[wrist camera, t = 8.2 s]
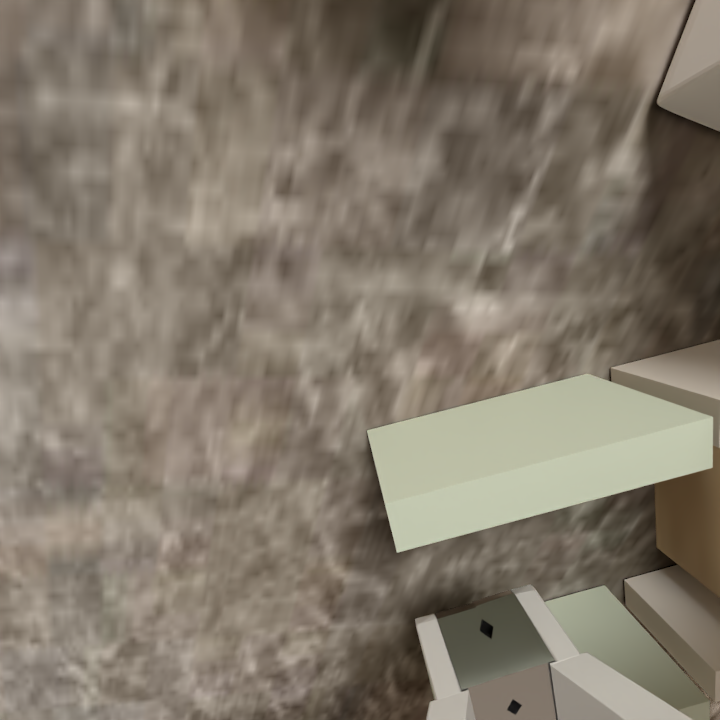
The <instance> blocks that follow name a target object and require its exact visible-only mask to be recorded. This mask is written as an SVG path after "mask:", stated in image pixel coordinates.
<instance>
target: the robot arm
mask: <svg viewBox="0 0 720 720" xmlns="http://www.w3.org/2000/svg"><path fill="white" fill-rule="evenodd" d="M415 623H416V628H417V632H418V636H419V639H420V643H421V647H422V651H423V655H424V658H425V662H426V666H427V670H428V673H429V677H430V681H431V685H432V688H433V692H434V696H435V700H433V701H430V702H429V707H428V712H427V717H426V720H693V719H691V718H690V717H688V716H686V715H685V714H683V713H682V712H680V711H679V710H677V709H675V708H674V707H672V706H671V705H669V704H668V703H666V702H665V701H663V700H661V699H660V698H658V697H657V696H655V695H654V694H652V693H650V692H649V691H647V690H646V689H644V688H643V687H641V686H640V685H638V684H636V683H635V682H633V681H632V680H630V679H629V678H627V677H625V676H624V675H622V674H621V673H619V672H618V671H616V670H615V669H613V668H611V667H610V666H608V665H607V664H605V663H604V662H602V661H600V660H599V659H597V658H596V657H594V656H593V655H591V654H590V653H588V652H585V653H581V654H580V652H579V651H578V649H577V648H576V646H575V645H574V644H573V642H572V641H571V639H570V638H569V636H568V635H567V634H566V632H565V631H564V629H563V628H562V626H561V625H560V624H559V622H558V621H557V619H556V618H555V616H554V615H553V614H552V612H551V611H550V609H549V608H548V607H547V605H546V604H545V602H544V601H543V599H542V598H541V597H540V595H539V594H538V592H537V591H536V589H535V588H534V587H533V586H531V585H530V584H528V585H525V586H522V587H519V588H516V589H512V590H507V591H504V592H501V593H498V594H495V595H492V596H488V597H485V598H482V599H479V600H476V601H473V602H472V603H470V604H466V605H463V606H459V607H455V608H452V609H448V610H444V611H440V612H437V613H435V614H434V613H433V614H430V615H426V616H423V617H419V618H416V619H415Z"/></svg>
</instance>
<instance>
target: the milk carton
mask: <svg viewBox="0 0 720 720" xmlns="http://www.w3.org/2000/svg"><path fill="white" fill-rule="evenodd" d="M657 104H658V105H659V106H660V107H662V108H664V109H666V110H668V111H670V112H673V113H675V114H677V115H680V116H682V117H685V118H687V119H690V120H692V121H695V122H697V123H700V124H702V125H704V126H707V127H709V128H712V129H714V130H717V131H719V132H720V0H695V3H694V5H693V8H692V11H691V13H690V16H689V18H688V21H687V23H686V26H685V29H684V31H683V34H682V36H681V39H680V42H679V44H678V47H677V49H676V52H675V54H674V57H673V60H672V62H671V65H670V67H669V70H668V73H667V75H666V78H665V80H664V83H663V86H662V88H661V91H660V93H659V96H658V99H657Z"/></svg>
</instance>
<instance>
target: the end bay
mask: <svg viewBox="0 0 720 720" xmlns="http://www.w3.org/2000/svg"><path fill="white" fill-rule="evenodd" d="M611 382H613V383H616V384H619V385H622V386H625V387H628V388H631V389H633V390H636V391H639V392H642V393H645V394H648V395H651V396H654V397H657V398H660V399H662V400H665V401H668V402H671V403H674V404H677V405H680V406H683V407H686V408H689V409H691V410H694V411H697V412H700V413H703V414H706V415H709V416H712V417H713V446H716V447H718V448H720V340H716V341H712V342H708V343H705V344H701V345H697V346H693V347H689V348H685V349H681V350H677V351H673V352H670V353H666V354H662V355H658V356H654V357H650V358H646V359H642V360H639V361H635V362H631V363H627V364H623V365H619V366H615V367H611ZM624 588H625V604H626V606H627V607H628V608H629V610H630V611H631V612H632V613H633V614H634V615H635V616H636V617H637V618H638V619H639V620H640V622H641V623H642V624H643V625H644V626H645V627H646V628H647V629H648V630H649V631H650V632H651V633H652V635H653V636H654V637H655V638H656V639H657V640H658V641H659V642H660V643H661V644H662V645H663V647H664V648H665V649H666V650H667V651H668V652H669V653H670V654H671V655H672V656H673V657H674V658H675V660H676V661H677V662H678V663H679V664H680V665H681V666H682V667H683V668H684V669H685V670H686V671H687V673H688V674H689V675H690V676H691V677H692V678H693V679H694V680H695V681H696V682H697V683H698V685H699V686H700V687H701V688H702V689H703V690H704V691H705V692H706V693H707V694H708V695H709V696H710V698H711V699H712V700H713V701H714V702H719V701H720V598H719V597H718V596H717V595H715V594H714V593H713V592H712V591H710V590H709V589H708V588H707V587H705V586H704V585H703V584H702V583H700V582H699V581H698V580H697V579H695V578H694V577H693V576H692V575H690V574H689V573H688V572H687V571H685V570H684V569H683V568H682V567H680V566H679V565H675V566H671V567H668V568H664V569H661V570H657V571H653V572H650V573H646V574H643V575H639V576H635V577H632V578H628V579H625V580H624Z"/></svg>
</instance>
